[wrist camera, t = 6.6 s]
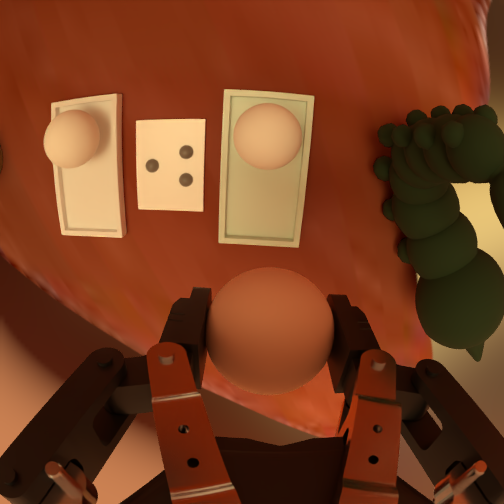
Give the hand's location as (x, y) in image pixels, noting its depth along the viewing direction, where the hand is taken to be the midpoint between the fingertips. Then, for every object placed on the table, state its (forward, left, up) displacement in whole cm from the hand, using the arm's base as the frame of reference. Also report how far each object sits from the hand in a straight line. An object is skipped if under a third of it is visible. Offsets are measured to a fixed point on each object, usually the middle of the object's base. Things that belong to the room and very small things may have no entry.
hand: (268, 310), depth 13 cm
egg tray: (-3, -16, -16) cm, 23 cm away
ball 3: (0, 0, -1) cm, 1 cm away
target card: (-3, -8, -16) cm, 18 cm away
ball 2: (-6, 0, -15) cm, 16 cm away
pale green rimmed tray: (-3, 0, -16) cm, 16 cm away
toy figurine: (+1, +16, -16) cm, 23 cm away
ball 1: (-6, -16, -15) cm, 23 cm away
